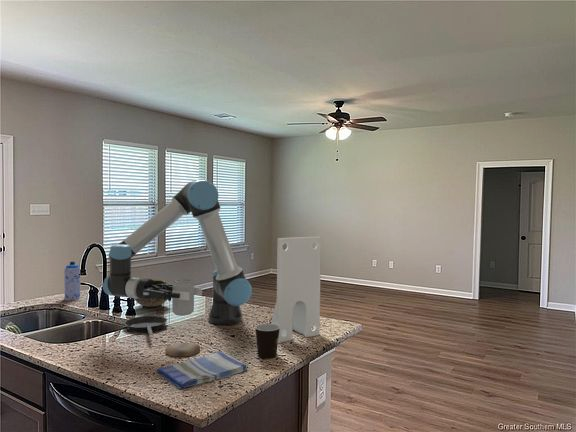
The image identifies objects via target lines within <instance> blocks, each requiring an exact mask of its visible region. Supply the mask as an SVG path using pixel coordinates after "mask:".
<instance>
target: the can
mask: <svg viewBox="0 0 576 432" xmlns="http://www.w3.org/2000/svg"><path fill="white" fill-rule="evenodd" d="M172 284H173V286H172V291H182V292H189V300H179V299H172V298H171V301H172V305H171V306H172V307H171V309H172V310H171V312H172V313H173V314H174V316H181V317H182V316H189V315H192V313H193V312H194V310H195V295H194V287H195V284H194V282H193V279H190V278H180V279H179V278H177V279H175V280H174V283H172Z"/></svg>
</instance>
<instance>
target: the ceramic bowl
mask: <svg viewBox="0 0 576 432" xmlns="http://www.w3.org/2000/svg"><path fill="white" fill-rule="evenodd" d="M153 280H154V281H155V283H156V285H157V284H166V283H167V282H166V280H163V279H153ZM134 301H135V302H136V303H138V304H139V305H141V306H142V309H144V310H148V311H152V310H154V311H155V310H159V309H161V308H162V307H163V304H165V303H166V302H167V301H168V299H166V300H162V299H156V298H151V299H149V300H146V299H140V298H137V299H136V300H135V299H134Z"/></svg>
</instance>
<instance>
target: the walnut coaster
mask: <svg viewBox="0 0 576 432" xmlns="http://www.w3.org/2000/svg"><path fill="white" fill-rule="evenodd" d="M200 351H201V346H200V345H199V344H197V343H194V342H177V343H172V344H170V345H168V346H166V347H165V355H167V356H169V357H173V358H185V357H191V356H195V355H197V354H198V353H200Z"/></svg>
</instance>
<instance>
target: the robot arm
mask: <svg viewBox="0 0 576 432" xmlns="http://www.w3.org/2000/svg"><path fill="white" fill-rule="evenodd" d="M220 210H221V205H220V202H219V191H218V188H217V187H216V185H215V184H213V183H212V182H210V181H209V180H207V179H197V180H192V181H190V182H187V184H185V185H184V186H183V187H182V188H181V189H180V190H179V191H178V192H177V193H176V194H175V195H173V196H172V197H171V201H170V202H169V203H167V205H165V206H164V207H162V208H161V210H159V211H158V212H157V213H156V214H154V215H153V216H152V217H150V218H149V219H148V220H147V221H146V222H144V223H143V224H142V225H140V227H138V228H137V229H135V230H134V231H133V232H132V233H131V234H129V235H128V236H127V237H125V238H124V239H123V240H122V241H121V242H120V243H118V244H112V245H111V246H110V247H109V252H108V259H109V275H108V276H106V277H105V278H104V280H103V283H102V290H103V292H104V293H105V294H106V295H109V296H114V297H120V298H122V297H123V298H130V299H133V300H134V301H135V300H136V299H137V298H140V299H146V300H149V299H151V298H156V299H162V300H166V299H168V300H167V301H168V302H171V301H172V299H179V300H189V292H182V291H172V286H173V284H174V283H168V282H166V284H157V285H156V283H155V281H154V280H155V279H152V278H144V277H134V276H133V277H132V258H134V256H136V255H137V254H138V253H139V252H140V251H141V250H143V249H144V248H145V247H146V246H147V245H149V244H150V243H151V242H152V241H153V240H155V239H156V238H157V237H159V236H160V235H161V234H162V233H163V232H165V231H166V230H168V228H169V227H171V226H173V224H174V223H176V222H177V221H178V220H180V218H182V217H183V216H188V215H189V214H190V213H191V215H192V217H193V218H194V219H196V220H197V221H198V223H199V226H200V228H201V231H202V234H203V236H204V239H205V242H206V244H207V247H208V250H209V252H210V253H209V254H210V255H211V258H212V261H213V264H214V267H215V270H214V271H213V273H212V304H211V307H210V311H209V313H208V322H209V323H210V324H214V325H222V326H223V325H234V324H238V323H240V322H242V321H243V312H242V308H241V307H240V306H242V305H245V304H246V303H248V301H249V300H250V298H251V296H252V292H253V288H252V285H251V284H250V282H249V280H247V278H246V276H245V273H244V270H243V268H242V267H241V266H239V265H237V261H236V259H235V256H234V253H233V250H232V247H231V244H230V241H229V239H228V235H227V233H226V230H225V228H224V225H223V222H222V219H221V216H220ZM202 295H203V287H197V286H196V287H195V286H194V296H202Z"/></svg>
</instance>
